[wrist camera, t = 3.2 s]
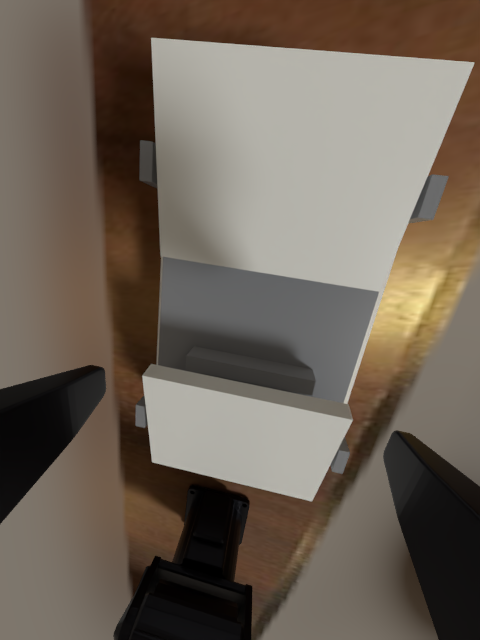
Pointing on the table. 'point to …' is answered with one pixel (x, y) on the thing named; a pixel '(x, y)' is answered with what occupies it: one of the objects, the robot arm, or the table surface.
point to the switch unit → (267, 321)
